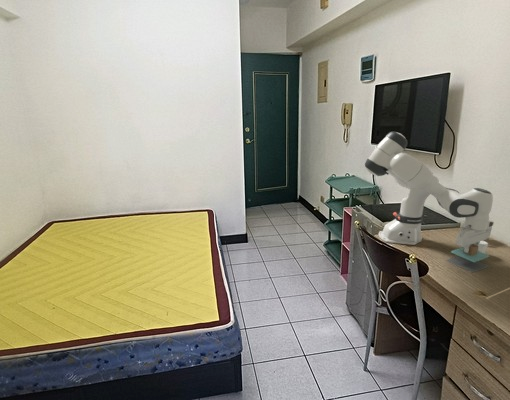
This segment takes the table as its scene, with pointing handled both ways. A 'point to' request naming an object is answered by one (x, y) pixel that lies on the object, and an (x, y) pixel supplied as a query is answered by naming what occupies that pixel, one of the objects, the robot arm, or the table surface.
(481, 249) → the shot glass
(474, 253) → the lid
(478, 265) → the mat
